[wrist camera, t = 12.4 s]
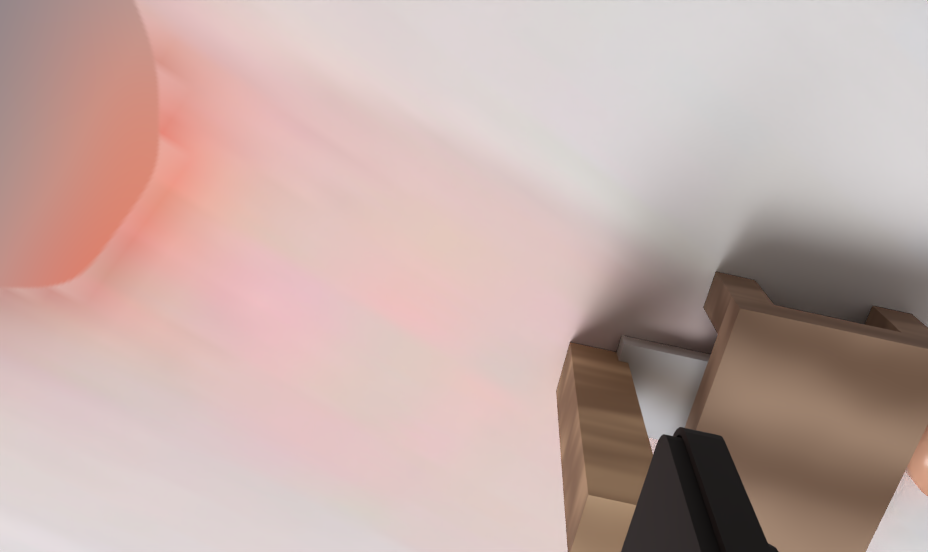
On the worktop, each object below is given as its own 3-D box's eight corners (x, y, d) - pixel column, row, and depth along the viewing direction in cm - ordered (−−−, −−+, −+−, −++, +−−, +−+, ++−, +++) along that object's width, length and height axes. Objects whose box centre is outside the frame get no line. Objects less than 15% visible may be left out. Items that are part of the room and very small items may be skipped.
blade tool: (574, 325, 40) (595, 472, 28) (923, 400, 40) (1093, 580, 28) (551, 407, 42) (561, 578, 30) (885, 478, 42) (1030, 679, 30)
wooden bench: (715, 271, 39) (740, 308, 34) (911, 314, 39) (961, 356, 34) (637, 498, 44) (650, 556, 39) (811, 536, 44) (842, 598, 39)
